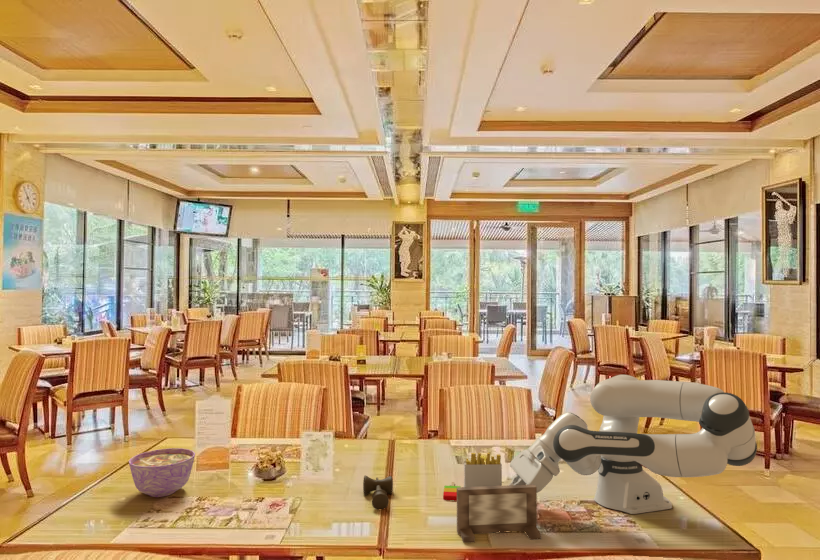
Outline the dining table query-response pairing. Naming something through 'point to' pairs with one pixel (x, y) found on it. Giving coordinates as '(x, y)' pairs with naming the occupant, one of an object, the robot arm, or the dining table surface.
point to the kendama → (378, 490)
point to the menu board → (497, 510)
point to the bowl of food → (161, 470)
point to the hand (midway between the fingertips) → (511, 490)
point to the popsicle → (450, 492)
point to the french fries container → (483, 471)
